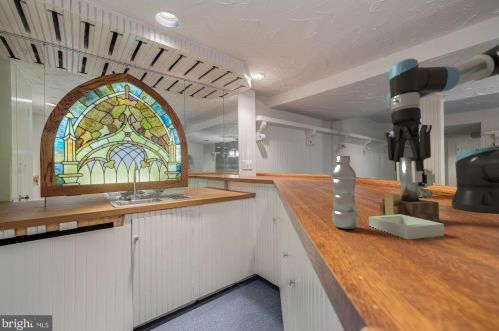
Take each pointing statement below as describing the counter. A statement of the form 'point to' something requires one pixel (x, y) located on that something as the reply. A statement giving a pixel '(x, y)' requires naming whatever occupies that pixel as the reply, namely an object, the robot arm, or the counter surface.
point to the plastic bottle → (344, 194)
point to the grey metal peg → (408, 181)
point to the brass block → (391, 202)
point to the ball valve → (426, 183)
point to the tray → (407, 226)
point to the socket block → (415, 209)
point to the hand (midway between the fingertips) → (409, 181)
